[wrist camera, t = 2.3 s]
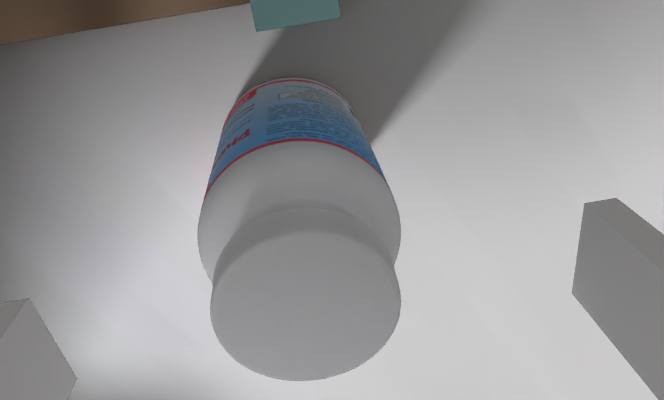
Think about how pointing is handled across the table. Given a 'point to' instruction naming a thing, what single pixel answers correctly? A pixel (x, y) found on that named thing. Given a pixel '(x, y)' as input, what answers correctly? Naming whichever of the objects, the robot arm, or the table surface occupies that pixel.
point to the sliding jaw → (292, 12)
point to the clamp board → (88, 15)
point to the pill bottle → (299, 235)
